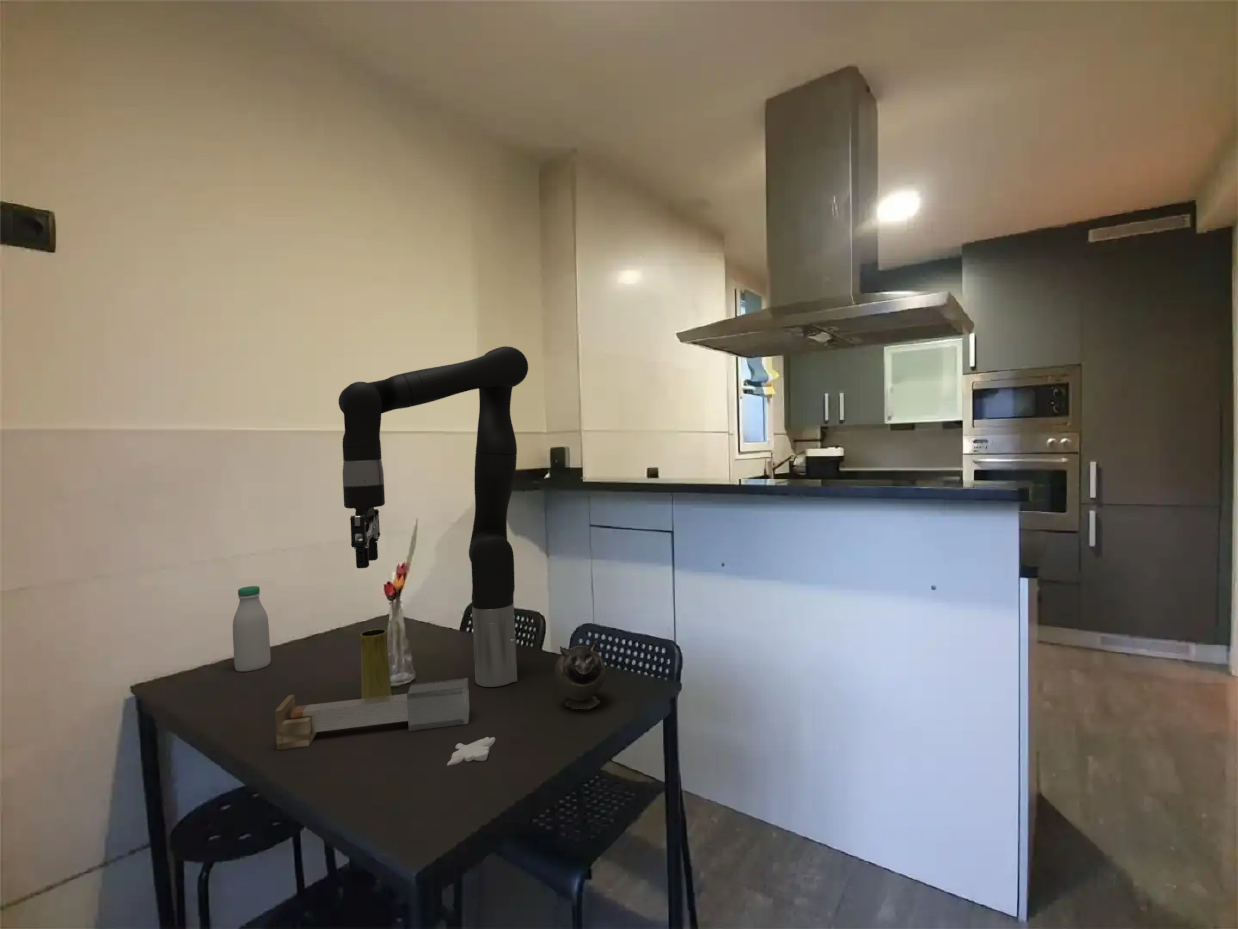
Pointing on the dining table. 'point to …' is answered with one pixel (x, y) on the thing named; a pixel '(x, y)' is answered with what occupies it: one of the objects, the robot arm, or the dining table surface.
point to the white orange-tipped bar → (354, 712)
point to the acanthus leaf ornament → (472, 751)
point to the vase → (374, 664)
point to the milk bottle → (250, 632)
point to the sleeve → (438, 704)
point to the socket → (291, 727)
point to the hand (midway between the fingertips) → (367, 563)
